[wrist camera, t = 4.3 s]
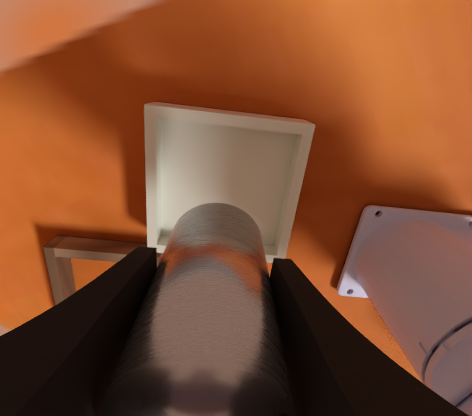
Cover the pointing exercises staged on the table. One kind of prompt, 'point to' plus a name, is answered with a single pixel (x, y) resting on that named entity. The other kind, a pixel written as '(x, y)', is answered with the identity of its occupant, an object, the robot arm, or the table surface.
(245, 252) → the dowel pin
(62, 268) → the walnut collar
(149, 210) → the beige shallow square tray
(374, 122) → the table surface
